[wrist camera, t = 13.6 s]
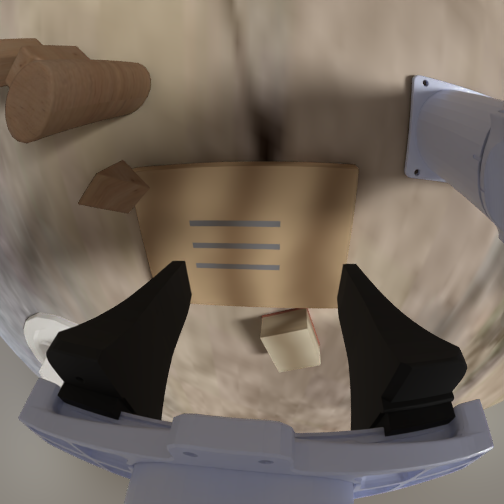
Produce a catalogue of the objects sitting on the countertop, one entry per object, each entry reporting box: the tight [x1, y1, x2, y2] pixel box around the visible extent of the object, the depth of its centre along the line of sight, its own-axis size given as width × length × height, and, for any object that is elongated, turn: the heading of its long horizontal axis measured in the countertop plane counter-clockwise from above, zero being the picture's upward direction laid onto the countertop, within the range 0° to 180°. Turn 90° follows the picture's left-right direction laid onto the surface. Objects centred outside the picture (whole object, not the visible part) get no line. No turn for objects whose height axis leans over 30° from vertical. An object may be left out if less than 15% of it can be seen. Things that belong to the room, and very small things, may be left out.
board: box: [133, 161, 359, 308], centre depth 24 cm, size 17×13×1 cm
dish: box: [24, 313, 79, 387], centre depth 36 cm, size 25×25×11 cm
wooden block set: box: [0, 38, 151, 214], centre depth 14 cm, size 18×9×10 cm, turn 43°
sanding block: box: [260, 308, 321, 372], centre depth 29 cm, size 5×6×3 cm
